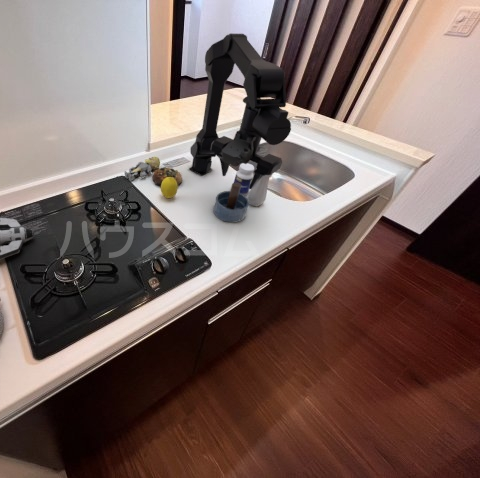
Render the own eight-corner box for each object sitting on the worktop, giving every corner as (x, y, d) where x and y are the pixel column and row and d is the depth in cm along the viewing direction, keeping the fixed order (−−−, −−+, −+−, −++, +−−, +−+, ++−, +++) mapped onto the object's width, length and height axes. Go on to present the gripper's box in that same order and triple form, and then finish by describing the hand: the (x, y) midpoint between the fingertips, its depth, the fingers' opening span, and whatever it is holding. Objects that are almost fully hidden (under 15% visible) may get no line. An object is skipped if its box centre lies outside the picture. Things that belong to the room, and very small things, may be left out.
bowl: (207, 212, 82) (209, 199, 79) (224, 200, 88) (227, 187, 84) (233, 227, 78) (237, 214, 74) (250, 213, 83) (255, 200, 79)
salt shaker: (263, 209, 85) (277, 173, 75) (246, 206, 85) (257, 171, 76) (262, 199, 89) (275, 164, 80) (245, 196, 89) (256, 162, 80)
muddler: (226, 215, 81) (233, 188, 74) (221, 208, 83) (228, 181, 76) (236, 214, 81) (245, 187, 74) (232, 207, 84) (239, 180, 77)
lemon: (179, 195, 88) (181, 175, 83) (172, 204, 85) (174, 183, 79) (164, 191, 90) (165, 171, 84) (157, 200, 86) (158, 179, 81)
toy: (119, 167, 94) (149, 151, 101) (122, 179, 98) (151, 163, 104) (133, 173, 90) (164, 156, 96) (136, 186, 93) (165, 168, 100)
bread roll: (149, 185, 92) (150, 172, 88) (154, 173, 100) (156, 161, 97) (180, 190, 91) (182, 177, 88) (183, 178, 100) (185, 165, 97)
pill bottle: (229, 194, 90) (236, 168, 83) (233, 186, 94) (239, 160, 87) (246, 198, 89) (254, 172, 82) (248, 189, 93) (257, 164, 86)
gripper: (202, 124, 65) (194, 178, 75) (270, 150, 55) (249, 208, 66) (228, 114, 70) (217, 166, 81) (293, 136, 61) (271, 191, 72)
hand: (237, 182), depth 75 cm, fingers open, 9 cm apart
